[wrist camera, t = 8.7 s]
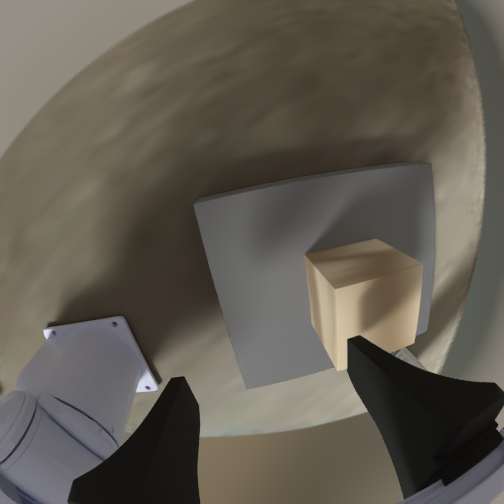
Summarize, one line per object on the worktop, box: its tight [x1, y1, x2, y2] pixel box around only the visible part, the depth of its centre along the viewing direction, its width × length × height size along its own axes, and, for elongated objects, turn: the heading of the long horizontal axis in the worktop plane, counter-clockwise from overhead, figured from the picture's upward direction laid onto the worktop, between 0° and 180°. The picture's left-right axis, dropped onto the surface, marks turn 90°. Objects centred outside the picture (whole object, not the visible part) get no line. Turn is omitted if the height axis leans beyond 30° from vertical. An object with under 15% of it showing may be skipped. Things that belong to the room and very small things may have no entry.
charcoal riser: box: [193, 162, 435, 389], centre depth 19 cm, size 16×14×3 cm
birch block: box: [304, 239, 423, 371], centre depth 15 cm, size 5×5×5 cm
